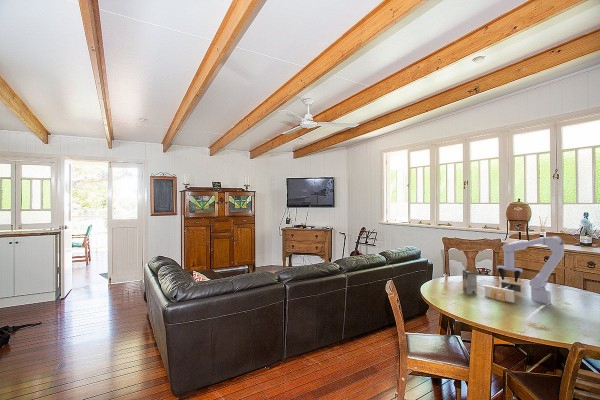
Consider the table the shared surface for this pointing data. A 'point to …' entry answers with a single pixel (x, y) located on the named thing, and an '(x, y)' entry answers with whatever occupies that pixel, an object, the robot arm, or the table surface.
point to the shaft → (511, 286)
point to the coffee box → (469, 282)
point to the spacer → (498, 293)
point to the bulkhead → (508, 294)
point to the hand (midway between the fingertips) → (509, 280)
